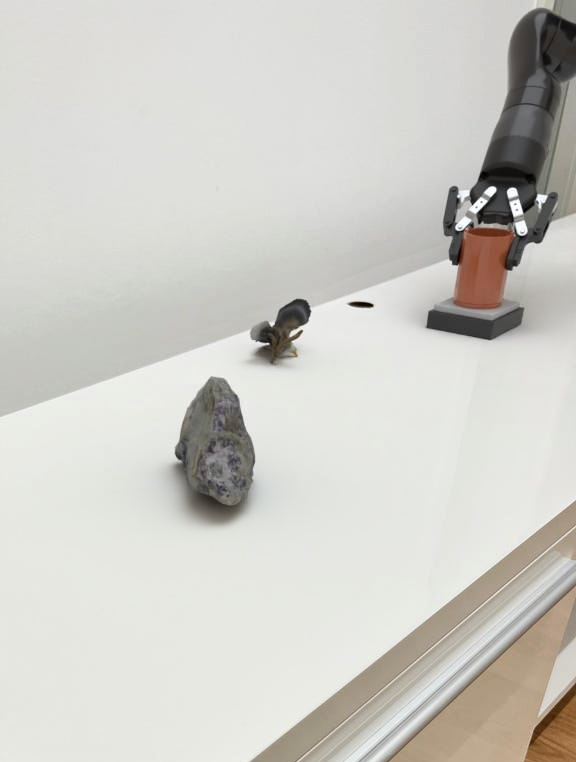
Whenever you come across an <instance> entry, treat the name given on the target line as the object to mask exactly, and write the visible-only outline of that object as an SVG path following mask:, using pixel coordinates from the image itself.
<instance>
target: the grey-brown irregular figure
mask: <svg viewBox="0 0 576 762" xmlns="http://www.w3.org/2000/svg"><path fill="white" fill-rule="evenodd" d="M311 314H312V310H311V305H310V303H309V302H308V300H307V299H304V298H295V299H293V300H292V301H289V302H288V303H286V304H285V305H284V306H282V307H281V308H279V309H278V311H277V316H276V318H275V320H274V324H273V325H271V324H270V321H268V320H262V321H261V322H259V323H257V324H255V325H254V326H253V327H251V329H250V331H249V336H250V339H251V340H252V341H254V342H255V343H261V344H265V345H264V346H263V347H264V349H268V350H271V358H270V364H274V362H275V361H277V359H278V358H279V357H280V356H281V353H282V352H283V350H286V351H288V352H289V353H291V354H293V355H294V356H295V357H298V356H299V355H298V352H297V347H296V346H295V344H294V342H293V341H295V340H297V339H299V338H300V337H301V335H302V334H303V332H304V329H300V330H299V331H297V333H295V334H293V335H292V336H290V335H291V333H292V332H293V331H295V330H298V329H299V328H300V327H303V326H306V325H307V324H308V323H309V321H310V317H311Z"/></svg>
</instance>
